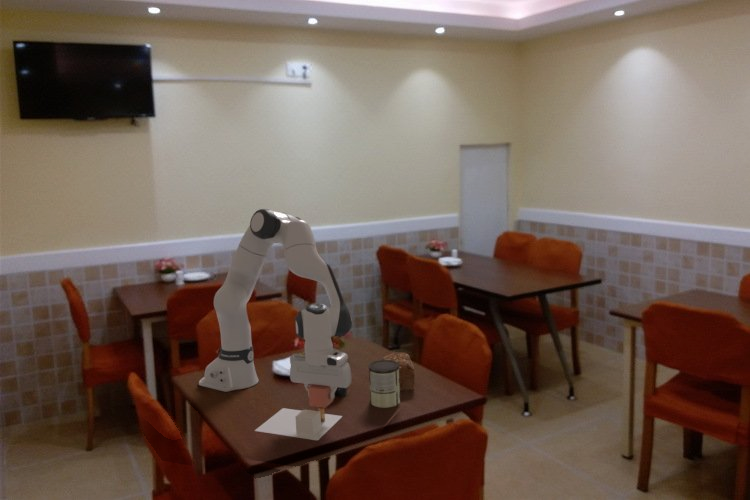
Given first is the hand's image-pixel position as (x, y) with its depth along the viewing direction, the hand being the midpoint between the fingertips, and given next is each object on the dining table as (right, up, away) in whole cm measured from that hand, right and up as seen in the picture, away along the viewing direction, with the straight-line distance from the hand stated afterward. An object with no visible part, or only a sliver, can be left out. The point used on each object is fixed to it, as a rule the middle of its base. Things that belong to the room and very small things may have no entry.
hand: (321, 397), depth 207 cm
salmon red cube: (0, -2, 0) cm, 2 cm away
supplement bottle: (+4, -5, +24) cm, 25 cm away
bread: (+26, -3, +34) cm, 43 cm away
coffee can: (+20, -6, +14) cm, 26 cm away
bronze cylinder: (0, -8, +1) cm, 8 cm away
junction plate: (-7, -9, 0) cm, 11 cm away
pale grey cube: (-3, -9, -7) cm, 12 cm away
